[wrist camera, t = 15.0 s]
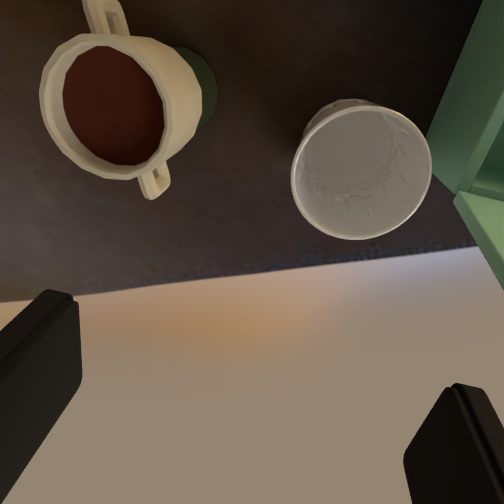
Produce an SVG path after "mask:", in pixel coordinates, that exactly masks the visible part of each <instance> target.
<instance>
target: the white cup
mask: <svg viewBox="0 0 504 504" xmlns="http://www.w3.org/2000/svg"><path fill="white" fill-rule="evenodd" d="M431 173H432V160H431V154H430V150H429V147H428V144H427V142H426V140H425V138H424V136H423V134H422V133H421V131H420V130H419V129H418V128H417V126H416V125H415V124H414V123H413V122H411V121H410V120H409V119H408V118H406V117H405V116H403V115H402V114H400V113H398V112H396V111H393V110H391V109H388V108H386V107H383V106H381V105H379V104H376V103H373V102H369V101H366V100H361V99H339V100H336V101H334V102H332V103H330V104H328V105H326V106H324V107H322V108H320V110H319V111H318V112H317V113H316V114H315V115H314V117H313V118H312V119H311V120H310V121H309V123H308V124H307V126H306V128H305V130H304V132H303V134H302V136H301V139H300V142H299V145H298V148H297V151H296V154H295V156H294V159H293V163H292V168H291V189H292V194H293V197H294V200H295V203H296V205H297V207H298V209H299V210H300V212H301V213H302V215H303V216H304V217H305V218H306V220H307V221H308V222H309V223H311V224H312V225H313V226H314V227H316V228H317V229H319V230H320V231H322V232H324V233H326V234H328V235H331V236H334V237H337V238H341V239H349V240H361V239H369V238H373V237H377V236H380V235H383V234H385V233H387V232H390V231H391V230H393V229H395V228H397V227H398V226H400V225H401V224H402V223H404V222H405V221H406V220H407V219H408V218H409V217H410V216H411V215H412V214H413V213H414V212H415V211H416V210H417V208H418V207H419V205H420V204H421V202H422V201H423V199H424V197H425V195H426V193H427V190H428V187H429V184H430V180H431Z"/></svg>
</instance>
